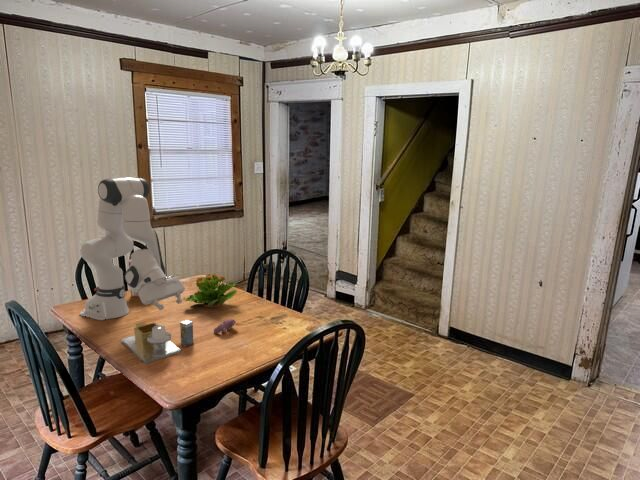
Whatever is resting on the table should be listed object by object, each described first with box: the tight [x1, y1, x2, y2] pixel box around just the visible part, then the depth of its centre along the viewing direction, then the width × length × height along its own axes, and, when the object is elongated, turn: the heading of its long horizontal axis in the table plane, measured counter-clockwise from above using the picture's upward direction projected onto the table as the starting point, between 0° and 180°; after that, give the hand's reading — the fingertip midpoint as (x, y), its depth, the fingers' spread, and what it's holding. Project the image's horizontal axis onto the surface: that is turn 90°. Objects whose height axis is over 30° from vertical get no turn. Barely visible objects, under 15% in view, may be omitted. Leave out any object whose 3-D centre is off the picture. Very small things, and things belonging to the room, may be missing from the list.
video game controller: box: [213, 317, 237, 334], centre depth 197 cm, size 10×5×7 cm, turn 148°
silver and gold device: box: [121, 321, 182, 365], centre depth 178 cm, size 26×15×12 cm, turn 43°
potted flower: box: [183, 273, 238, 308], centre depth 227 cm, size 25×24×18 cm
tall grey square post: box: [179, 319, 194, 347], centre depth 183 cm, size 4×4×10 cm
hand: (171, 306), depth 186 cm, fingers open, 8 cm apart
